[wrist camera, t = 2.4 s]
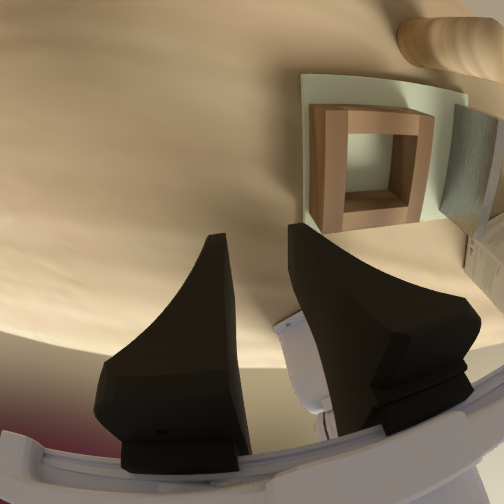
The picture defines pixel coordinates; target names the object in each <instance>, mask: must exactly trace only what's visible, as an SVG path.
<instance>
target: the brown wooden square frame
mask: <svg viewBox="0 0 504 504" xmlns="http://www.w3.org/2000/svg"><path fill="white" fill-rule="evenodd" d="M434 123H435V117H434V116H431V115H428V114H426V113H423V112H420V111H417V110H414V109H411V108H402V107H391V106H377V105H359V104H309V155H310V171H309V214H310V216H311V217H312V219H313V220H314V222H315V224H316V225H317V227H318V228H319V230H320V231H321V233H322V234H328V233H336V232H344V231H351V230H359V229H367V228H375V227H383V226H391V225H399V224H407V223H415V222H419V221H420V217H421V212H422V207H423V202H424V197H425V191H426V185H427V179H428V173H429V166H430V159H431V152H432V143H433V134H434ZM348 134H393V146H392V157H391V167H390V176H389V185H388V190H373V191H360V192H347V193H345V188H346V171H347V150H348Z"/></svg>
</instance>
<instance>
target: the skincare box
mask: <svg viewBox="0 0 504 504" xmlns="http://www.w3.org/2000/svg"><path fill="white" fill-rule="evenodd" d="M464 272H465V273H466V274H467V275H468V276H469V277H470V278H471V279H472V280H473V282H474V283H475V284H476V285H477V286H478V287H479V288H480V289H481V290H482V291H483V292H484V293H485V294H486V296H487V297H488V298H489V299H490V300H491V301H492V302H493V303H494V305H495V306H496V307H497V308H498V309H499V310H500V311H501V313H502V314H503V315H504V212H503V213H501V214H499V215H498V216H496V217H494V218H493V219H491V220H489V221H488V223H487V226H486V230H485V233H484V236H483V238H478V239H473V240H472V239H471V238H470V237H469V236H468V244H467V252H466V260H465V268H464Z"/></svg>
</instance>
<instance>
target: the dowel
mask: <svg viewBox="0 0 504 504" xmlns="http://www.w3.org/2000/svg"><path fill="white" fill-rule="evenodd" d="M397 42H398V46H399V49H400V51H401V53H402V55H403V56H404V58H405V59H406V60H407V61H408V62H410V63H411V64H412V65H414V66H417V67H423V68H430V69H437V70H443V71H449V72H455V73H460V74H465V75H470V76H474V77H479V78H483V79H487V80H491V81H495V82H498V83H504V28H503V26H502V25H501V24H500V23H499V22H498V21H496V20H494V19H492V18H481V17H440V18H423V19H411V20H406V21H404V22H403V23H402V24H401V25H400V27H399V29H398V32H397Z"/></svg>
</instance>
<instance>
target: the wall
mask: <svg viewBox="0 0 504 504" xmlns="http://www.w3.org/2000/svg"><path fill="white" fill-rule="evenodd" d="M503 157H504V120H503V119H501V118H498V117H496V116H493V115H491V114H488V113H485V112H482V111H480V110H477V109H474V108H471V107H468V106H465V105H460V104H455V106H454V119H453V129H452V138H451V146H450V153H449V160H448V166H447V172H446V178H445V184H444V189H443V194H442V199H441V203H440V208H439V211H440V212H441V213H443V214H444V215H445V216H446V217H447V218H449V219H450V220H451V221H452V222H453V223H454V224H456V225H457V226H458V227H459V228H460V229H461V230H462V231H464V232H465V233H466V234H467V235H468V236H469V237H470V238H471V239H472V240H473V239H478V238H483V236H484V233H485V230H486V226H487V223H488V220H489V216H490V213H491V209H492V206H493V202H494V198H495V194H496V190H497V186H498V182H499V177H500V173H501V168H502V162H503Z"/></svg>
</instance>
